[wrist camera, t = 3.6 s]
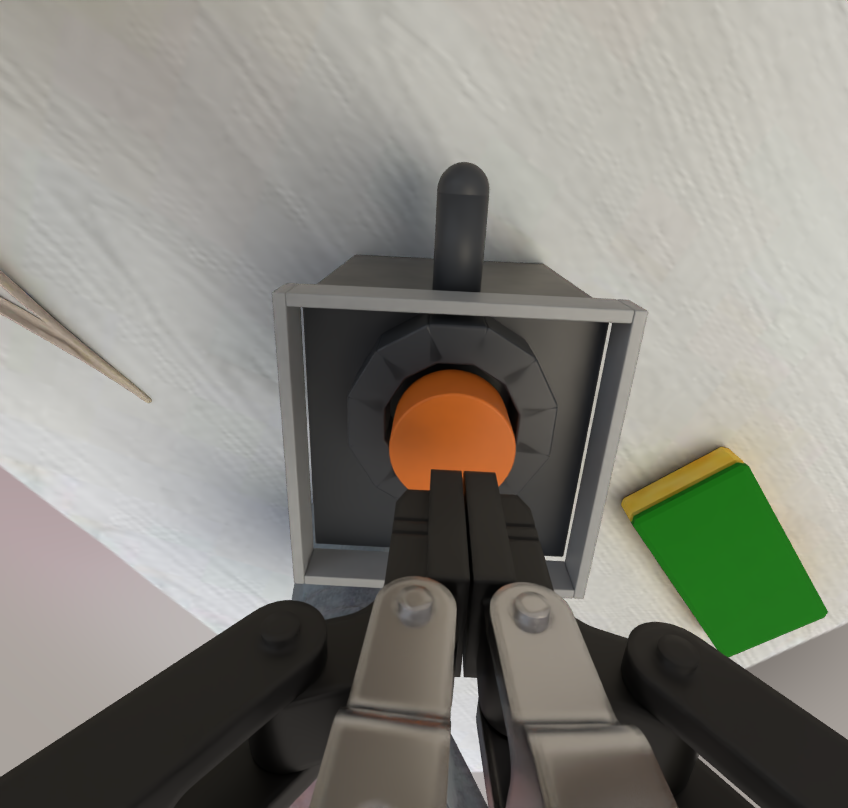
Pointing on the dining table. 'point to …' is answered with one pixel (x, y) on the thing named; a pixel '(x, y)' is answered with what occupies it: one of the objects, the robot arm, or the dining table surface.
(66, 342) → the tweezers
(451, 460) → the lid button
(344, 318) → the grey button box
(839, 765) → the robot arm
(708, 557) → the dish sponge
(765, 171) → the dining table surface
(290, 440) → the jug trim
